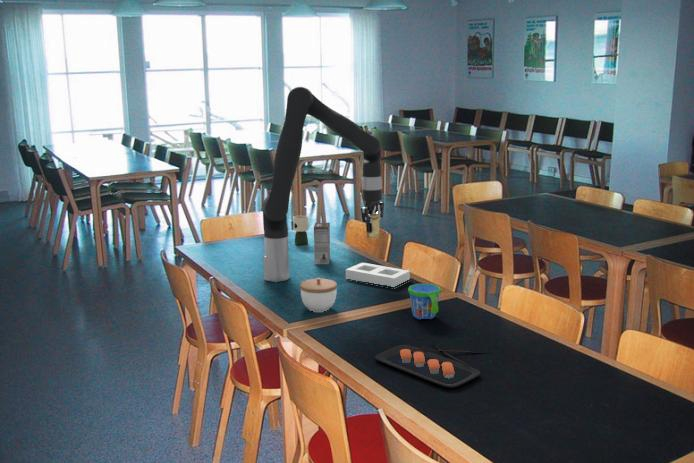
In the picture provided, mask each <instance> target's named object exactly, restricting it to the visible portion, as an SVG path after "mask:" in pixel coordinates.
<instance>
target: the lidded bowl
mask: <svg viewBox="0 0 694 463" xmlns="http://www.w3.org/2000/svg"><path fill="white" fill-rule="evenodd" d="M299 288H300V298H301V301H302V303H303V305H304V306H305V307H306V308H307V309H308V311H309V310H310V312H311V311H313V312H312V313H325V312H324V311H326V312H328V311H329V310H330V308H332V306H333V305H334V304H335V302H336V299H337V292H338V289H337V288H338V284H337V282H336V281H334V280H332V279H328V278H320V277H317V278H311V279H310V278H309V279H306V280H303V281H302V282H300V284H299ZM327 310H328V311H327Z"/></svg>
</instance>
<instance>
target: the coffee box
mask: <svg viewBox="0 0 694 463" xmlns="http://www.w3.org/2000/svg"><path fill="white" fill-rule="evenodd" d="M330 224H331V223H330V222H315V223H314V226H313V245H314V246H313V247H314V248H313V249H314V250H313V254H314V265H329V264H330V261H331V241H330V240H331V236H330V235H331V234H330V230H331V229H330V228H331V226H330Z"/></svg>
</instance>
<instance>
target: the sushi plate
mask: <svg viewBox="0 0 694 463" xmlns="http://www.w3.org/2000/svg"><path fill="white" fill-rule="evenodd" d="M411 351H412V352H414V353H413V358H414V365H415V366H416V367H417V368H418V367H419V368H420V367H424V364H426V362H425V356H426V357H430V358H433V359H429V360H428V361H427V364H428V367H429V370H430V373H431V374H439V368H440V364H439V361H440V362H443V363H442V364H441V366H442V371H443V376H444V378H448V379H450V378H454V375H455V371H454V367H453V366H455V367H458V368H460V369H463V370H466V371H469V372H471V373H472V374H471V375H470V376H469V377H467V378H465V379H463V380H461V381H459V382H457V383H454V384H445V383H442V382H439V381H437V380H434V379H432V378H429V377H426V376H424V375H422V374H419V373H417V372H414V371H412V370H410V369H407V368H405V367H402V366H400V365H397V364H395V363H392V362H390V361H388V360H386V359H387V357H390V356H393V355H396V354H397V355H398V353H400V356H401V359H402V363H411V358H412V354H411ZM440 351H442V352H443V354H444V353H445V354H444V355H446V356H448V357H450V358H452V359H450V358H448V357H445V356H442V355H439V354H436V353H434V352H440ZM470 351H471V350H452V349H451V350H448V349H440V348H439V350H436V349H429V348H420V347H416V346H414V345H410V344H400V345H396V346H394V347H391V348H388V349H387V350H386V349H385V350H384V351H381V352H380V353H377V354H375V357H374V358H375V360H377V361H378V362H380V363H383V364H385V365H387V366H390V367H393V368H395V369H398V370H401V371H403V372H405V373H407V374H411V375H413V376H416V377H418V378H421V379H423V380H426V381H429V382H430V383H433V384H436V385H439V386H441V387H445V388H456V387H459V386H462V385H464V384H466V383H468V382H470V381H472V380H474V379H476V378H478V377H479V376H480V375H481V371H480V370H479V369H477V368H474V367H473V366H470V365H469V364H468V363H465V362H464V361H461V359H460V360H459V359H458V358H456V357H455V356H453V355H451V354H449V353H458V352H470ZM442 352H441V353H442ZM448 352H449V353H448ZM424 355H425V356H424ZM455 360H456V361H455Z"/></svg>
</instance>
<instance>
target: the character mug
mask: <svg viewBox="0 0 694 463" xmlns="http://www.w3.org/2000/svg"><path fill="white" fill-rule="evenodd" d="M292 218H293V220H292V222H293V224H292V225H293V231H294V232H295V233H294V234H295V236H294V244H295V245H305V244H308V243H309V238H308V231H309V227H310V226H309V216H307V215H294V216H293V217H292Z"/></svg>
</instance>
